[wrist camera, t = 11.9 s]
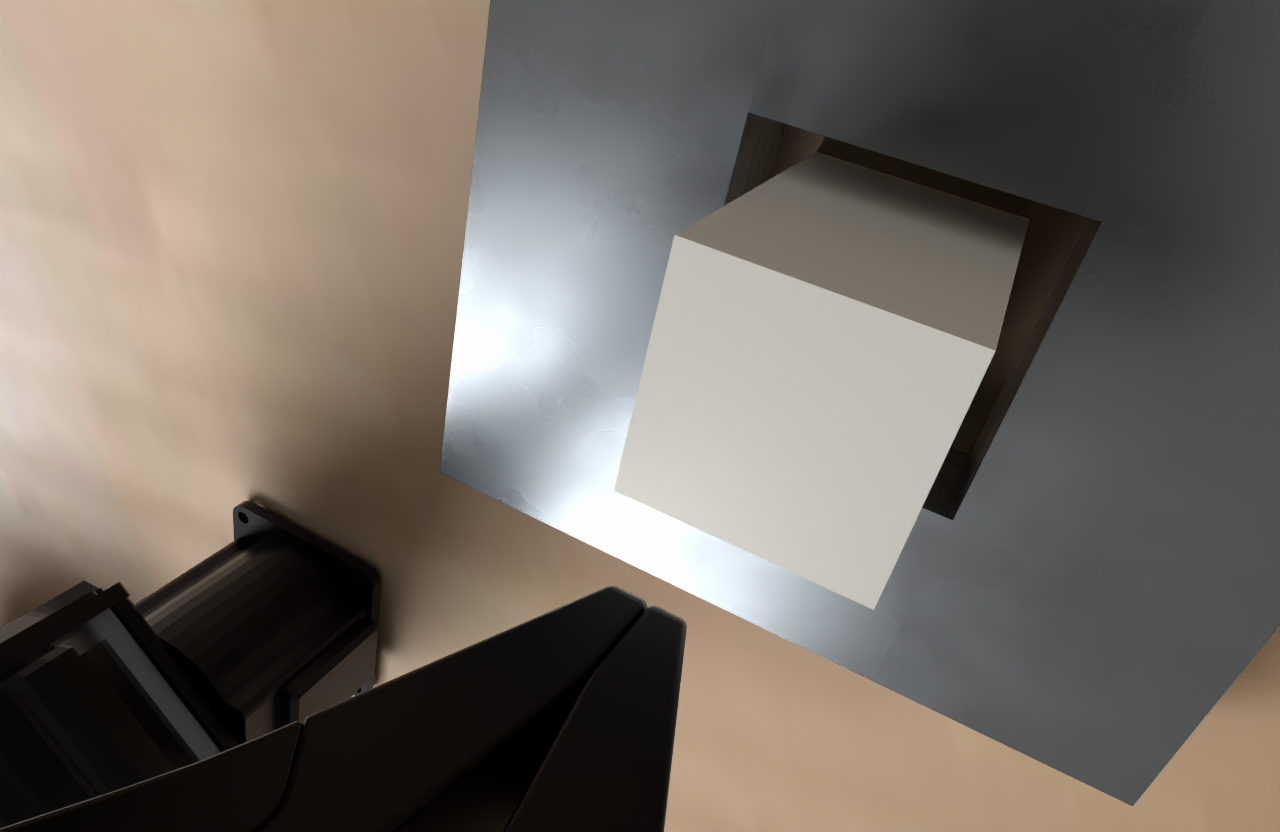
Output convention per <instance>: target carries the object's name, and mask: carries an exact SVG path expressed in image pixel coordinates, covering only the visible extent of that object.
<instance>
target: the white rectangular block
mask: <svg viewBox="0 0 1280 832" xmlns="http://www.w3.org/2000/svg"><path fill="white" fill-rule="evenodd" d="M1028 222H1029V219H1027V218H1024V217H1021V216H1017V215H1014V214H1011V213H1008V212H1005V211H1002V210H998V209H995V208H992V207H989V206H986V205H983V204H980V203H976V202H973V201H970V200H967V199H964V198H961V197H957V196H954V195H951V194H948V193H945V192H942V191H938V190H935V189H932V188H929V187H926V186H923V185H919V184H916V183H913V182H910V181H907V180H904V179H900V178H897V177H894V176H891V175H888V174H885V173H881V172H878V171H875V170H872V169H869V168H866V167H862V166H859V165H856V164H853V163H850V162H847V161H843V160H840V159H837V158H834V157H831V156H828V155H824V154H821V153H818V152H816V153H814V154H812V155H811V156H809V157H807V158H806V159H804V160H802V161H800V162H799V163H797V164H795V165H794V166H792V167H790V168H788V169H787V170H785V171H783V172H781V173H780V174H778V175H776V176H775V177H773V178H771V179H769V180H768V181H766V182H764V183H763V184H761V185H759V186H757V187H756V188H754V189H752V190H751V191H749V192H747V193H745V194H744V195H742V196H740V197H739V198H737V199H735V200H733V201H732V202H730V203H728V204H727V205H725V206H723V207H721V208H720V209H718V210H716V211H715V212H713V213H711V214H709V215H708V216H706V217H704V218H703V219H701V220H699V221H697V222H696V223H694V224H692V225H690V226H689V227H687V228H685V229H684V230H682V231H680V232H678V233H677V234H675V235H674V239H673V243H672V247H671V252H670V256H669V260H668V264H667V269H666V273H665V277H664V281H663V285H662V290H661V294H660V298H659V302H658V307H657V311H656V315H655V319H654V323H653V328H652V332H651V336H650V340H649V345H648V349H647V353H646V357H645V361H644V366H643V370H642V374H641V378H640V383H639V387H638V391H637V395H636V400H635V404H634V408H633V412H632V416H631V421H630V425H629V429H628V433H627V438H626V442H625V446H624V450H623V454H622V459H621V463H620V467H619V471H618V476H617V480H616V484H615V488H614V491H616V492H618V493H620V494H622V495H625V496H627V497H629V498H631V499H633V500H635V501H638V502H640V503H642V504H644V505H646V506H648V507H651V508H653V509H655V510H657V511H659V512H662V513H664V514H666V515H668V516H670V517H672V518H675V519H677V520H679V521H681V522H683V523H686V524H688V525H690V526H692V527H694V528H696V529H699V530H701V531H703V532H705V533H707V534H709V535H712V536H714V537H716V538H718V539H720V540H723V541H725V542H727V543H729V544H731V545H733V546H736V547H738V548H740V549H742V550H744V551H746V552H749V553H751V554H753V555H755V556H757V557H760V558H762V559H764V560H766V561H768V562H770V563H773V564H775V565H777V566H779V567H781V568H783V569H786V570H788V571H790V572H792V573H794V574H797V575H799V576H801V577H803V578H805V579H807V580H810V581H812V582H814V583H816V584H818V585H821V586H823V587H825V588H827V589H829V590H831V591H834V592H836V593H838V594H840V595H842V596H844V597H847V598H849V599H851V600H853V601H855V602H858V603H860V604H862V605H864V606H866V607H868V608H871V609H873V610H874V609H875V606H876V604H877V602H878V600H879V598H880V596H881V594H882V592H883V589H884V587H885V585H886V583H887V581H888V579H889V577H890V575H891V572H892V570H893V568H894V566H895V564H896V562H897V560H898V558H899V555H900V553H901V551H902V549H903V547H904V545H905V543H906V541H907V538H908V536H909V534H910V532H911V530H912V528H913V526H914V524H915V521H916V519H917V517H918V515H919V513H920V511H921V509H922V507H923V504H924V502H925V500H926V498H927V496H928V494H929V492H930V490H931V487H932V485H933V483H934V481H935V479H936V477H937V475H938V473H939V470H940V468H941V466H942V464H943V462H944V460H945V458H946V456H947V453H948V451H949V449H950V447H951V445H952V443H953V441H954V439H955V436H956V434H957V432H958V430H959V428H960V426H961V424H962V421H963V419H964V417H965V415H966V413H967V411H968V409H969V407H970V404H971V402H972V400H973V398H974V396H975V394H976V392H977V390H978V387H979V385H980V383H981V381H982V379H983V377H984V375H985V373H986V370H987V368H988V366H989V364H990V362H991V360H992V358H993V356H994V353H995V351H996V348H997V344H998V340H999V336H1000V332H1001V328H1002V324H1003V320H1004V316H1005V313H1006V309H1007V305H1008V301H1009V297H1010V293H1011V289H1012V285H1013V281H1014V277H1015V273H1016V269H1017V265H1018V261H1019V257H1020V254H1021V250H1022V246H1023V242H1024V238H1025V234H1026V230H1027V226H1028Z"/></svg>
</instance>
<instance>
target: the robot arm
mask: <svg viewBox="0 0 1280 832" xmlns="http://www.w3.org/2000/svg"><path fill="white" fill-rule="evenodd" d="M233 523H234V541H233V542H232V543H230V544H229V545H227V546H226V547H224V548H222V549H221V550H219V551H218V552H216V553H215V554H213V555H212V556H210V557H208V558H207V559H205V560H204V561H202V562H201V563H199V564H197V565H196V566H194V567H193V568H191V569H190V570H188V571H187V572H185V573H183V574H182V575H180V576H179V577H177V578H176V579H174V580H173V581H171V582H169V583H168V584H166V585H165V586H163V587H162V588H160V589H158V590H157V591H155V592H154V593H152V594H151V595H149V596H148V597H146V598H144V599H143V600H141V601H140V602H138V603H137V604H135V605H134V604H133V603H132V602H131V600H130V599H129V598H128V596H130V594H129V593H128V591H127V590H126V589H125V587H124V586H123V585H122V583H121V582H119V583H117V584H115V585H114V586H112V587H110V588H108V589H107V590H105V591H103V590H102V588H100V589H99V588H97V587H95V586H93V585H91V584H89V583H87V582H85V581H83V582H81V583H79V584H78V585H76V586H74V587H72V588H71V589H69V590H67V591H66V592H64V593H62V594H60V595H59V596H57V597H55V598H54V599H52V600H50V601H48V602H47V603H45V604H43V605H41V606H40V607H38V608H36V609H34V610H32V611H31V612H29V613H27V614H25V615H23V616H21V617H19V618H17V619H15V620H13V621H11V622H9V623H7V624H5V625H3V626H1V627H0V832H664V826H665V817H666V808H667V799H668V790H669V781H670V772H671V763H672V754H673V745H674V736H675V727H676V718H677V709H678V700H679V691H680V682H681V673H682V664H683V655H684V646H685V637H686V622H685V621H684V620H683V619H682V618H680V617H678V616H676V615H674V614H672V613H670V612H668V611H666V610H664V609H662V608H660V607H657V606H650V607H648V608H647V604H646V602H645V601H644V600H643V599H641V598H639V597H637V596H635V595H633V594H631V593H629V592H627V591H625V590H623V589H621V588H619V587H616V586H609V587H606V588H604V589H601V590H599V591H597V592H594V593H592V594H590V595H587V596H585V597H583V598H580V599H578V600H576V601H573V602H571V603H569V604H567V605H564V606H562V607H560V608H557V609H555V610H553V611H550V612H548V613H546V614H543V615H541V616H539V617H536V618H534V619H532V620H529V621H527V622H525V623H523V624H520V625H518V626H516V627H513V628H511V629H509V630H506V631H504V632H502V633H499V634H497V635H495V636H492V637H490V638H488V639H485V640H483V641H481V642H479V643H476V644H474V645H472V646H469V647H467V648H465V649H462V650H460V651H458V652H455V653H453V654H451V655H448V656H446V657H444V658H441V659H439V660H437V661H435V662H432V663H430V664H428V665H425V666H423V667H421V668H418V669H416V670H414V671H411V672H409V673H407V674H404V675H402V676H400V677H397V678H395V679H393V680H391V681H388V682H386V683H384V684H381V685H379V686H377V687H374V688H373V684H374V674H375V663H376V649H377V635H378V628H377V627H378V613H379V598H380V584H381V580H380V576H379V574H378V572H377V571H376V570H375V568H373V567H372V566H371V565H369V564H367V563H365V562H363V561H361V560H360V559H358V558H356V557H354V556H352V555H350V554H348V553H346V552H345V551H343V550H341V549H339V548H337V547H335V546H333V545H331V544H329V543H328V542H326V541H324V540H322V539H320V538H318V537H316V536H314V535H312V534H311V533H309V532H307V531H305V530H303V529H301V528H299V527H297V526H296V525H294V524H292V523H290V522H288V521H286V520H284V519H282V518H280V517H279V516H277V515H275V514H273V513H271V512H269V511H267V510H265V509H264V508H262V507H260V506H258V505H256V504H254V503H252V502H250V501H244V502H242V503H241V504H239V505H237V506H236V507H235V508H234V510H233ZM58 644H60V646H59V647H57V648H55V646H57V645H58ZM353 695H355V696H354V697H352V696H353Z"/></svg>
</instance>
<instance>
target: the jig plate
mask: <svg viewBox="0 0 1280 832" xmlns="http://www.w3.org/2000/svg"><path fill="white" fill-rule="evenodd" d="M785 124H788V125H791V126H794V127H797V128H801V129H804V130H807V131H810V132H813V133H817V134H820V135H823V136H826V137H830V138H833V139H836V140H839V141H842V142H846V143H849V144H852V145H855V146H859V147H862V148H865V149H868V150H871V151H875V152H878V153H881V154H884V155H888V156H891V157H894V158H897V159H900V160H904V161H907V162H910V163H913V164H917V165H920V166H923V167H926V168H929V169H933V170H936V171H939V172H942V173H946V174H949V175H952V176H955V177H958V178H962V179H965V180H968V181H971V182H975V183H978V184H981V185H984V186H987V187H991V188H994V189H997V190H1000V191H1004V192H1007V193H1010V194H1013V195H1017V196H1020V197H1023V198H1026V199H1029V200H1033V201H1036V202H1039V203H1042V204H1046V205H1049V206H1052V207H1055V208H1058V209H1062V210H1065V211H1068V212H1071V213H1075V214H1078V215H1081V216H1084V217H1086V218H1085V220H1084V222H1083V224H1082V226H1081V228H1080V230H1079V232H1078V234H1077V236H1076V238H1075V240H1074V242H1073V244H1072V246H1071V248H1070V250H1069V253H1068V255H1067V257H1066V259H1065V261H1064V263H1063V265H1062V267H1061V269H1060V271H1059V273H1058V275H1057V277H1056V279H1055V281H1054V283H1053V285H1052V287H1051V289H1050V292H1049V294H1048V296H1047V298H1046V300H1045V302H1044V304H1043V306H1042V308H1041V310H1040V312H1039V314H1038V316H1037V318H1036V320H1035V322H1034V324H1033V326H1032V328H1031V330H1030V333H1029V335H1028V337H1027V339H1026V341H1025V343H1024V345H1023V347H1022V349H1021V351H1020V353H1019V355H1018V357H1017V359H1016V361H1015V363H1014V365H1013V367H1012V369H1011V372H1010V374H1009V376H1008V378H1007V380H1006V382H1005V384H1004V386H1003V388H1002V390H1001V392H1000V394H999V396H998V398H997V400H996V402H995V404H994V406H993V408H992V411H991V413H990V415H989V417H988V419H987V421H986V423H985V425H984V427H983V429H982V431H981V433H980V435H979V437H978V439H977V441H976V443H975V445H974V447H973V450H972V452H971V454H970V456H966V455H964V454H961V453H959V452H956V451H953V450H951V449H949V451H948V453H947V456H946V458H945V460H944V462H943V464H942V466H941V468H940V470H939V473H938V475H937V477H936V479H935V481H934V483H933V485H932V487H931V490H930V492H929V494H928V496H927V498H926V500H925V502H924V504H923V507H922V509H921V511H920V513H919V515H918V517H917V519H916V521H915V524H914V526H913V528H912V530H911V532H910V534H909V536H908V538H907V541H906V543H905V545H904V547H903V549H902V551H901V553H900V555H899V558H898V560H897V562H896V564H895V566H894V568H893V570H892V572H891V575H890V577H889V579H888V581H887V583H886V585H885V587H884V589H883V592H882V594H881V596H880V598H879V600H878V602H877V604H876V606H875V609H874V610H873V609H871V608H868V607H866V606H864V605H862V604H860V603H858V602H855V601H853V600H851V599H849V598H847V597H844V596H842V595H840V594H838V593H836V592H834V591H831V590H829V589H827V588H825V587H823V586H821V585H818V584H816V583H814V582H812V581H810V580H807V579H805V578H803V577H801V576H799V575H797V574H794V573H792V572H790V571H788V570H786V569H783V568H781V567H779V566H777V565H775V564H773V563H770V562H768V561H766V560H764V559H762V558H760V557H757V556H755V555H753V554H751V553H749V552H746V551H744V550H742V549H740V548H738V547H736V546H733V545H731V544H729V543H727V542H725V541H723V540H720V539H718V538H716V537H714V536H712V535H709V534H707V533H705V532H703V531H701V530H699V529H696V528H694V527H692V526H690V525H688V524H686V523H683V522H681V521H679V520H677V519H675V518H672V517H670V516H668V515H666V514H664V513H662V512H659V511H657V510H655V509H653V508H651V507H648V506H646V505H644V504H642V503H640V502H638V501H635V500H633V499H631V498H629V497H627V496H625V495H622V494H620V493H618V492H616V491H614V488H615V484H616V480H617V476H618V471H619V467H620V463H621V459H622V454H623V450H624V446H625V442H626V438H627V433H628V429H629V425H630V421H631V416H632V412H633V408H634V404H635V400H636V395H637V391H638V387H639V383H640V378H641V374H642V370H643V366H644V361H645V357H646V353H647V349H648V345H649V340H650V336H651V332H652V328H653V323H654V319H655V315H656V311H657V307H658V302H659V298H660V294H661V290H662V285H663V281H664V277H665V273H666V269H667V264H668V260H669V256H670V252H671V247H672V243H673V239H674V235H675V234H677V233H678V232H680V231H682V230H684V229H685V228H687V227H689V226H690V225H692V224H694V223H696V222H697V221H699V220H701V219H703V218H704V217H706V216H708V215H709V214H711V213H713V212H715V211H716V210H718V209H720V208H721V207H723V206H725V205H727V204H728V203H730V202H732V201H733V200H735V199H737V198H739V197H740V196H742V195H744V194H745V193H747V192H749V191H751V190H752V189H754V188H756V187H757V186H759V185H761V184H763V183H764V182H766V181H768V180H769V177H770V174H771V170H772V167H773V163H774V160H775V156H776V153H777V149H778V146H779V142H780V139H781V135H782V132H783V128H784V125H785ZM440 473H442V474H444V475H446V476H448V477H450V478H453V479H455V480H457V481H459V482H461V483H463V484H465V485H467V486H469V487H471V488H473V489H475V490H477V491H480V492H482V493H484V494H486V495H488V496H490V497H492V498H494V499H496V500H498V501H500V502H502V503H504V504H506V505H509V506H511V507H513V508H515V509H517V510H519V511H521V512H523V513H525V514H527V515H529V516H531V517H533V518H536V519H538V520H540V521H542V522H544V523H546V524H548V525H550V526H552V527H554V528H556V529H558V530H560V531H563V532H565V533H567V534H569V535H571V536H573V537H575V538H577V539H579V540H581V541H583V542H585V543H587V544H589V545H592V546H594V547H596V548H598V549H600V550H602V551H604V552H606V553H608V554H610V555H612V556H614V557H616V558H619V559H621V560H623V561H625V562H627V563H629V564H631V565H633V566H635V567H637V568H639V569H641V570H643V571H646V572H648V573H650V574H652V575H654V576H656V577H658V578H660V579H662V580H664V581H666V582H668V583H670V584H672V585H675V586H677V587H679V588H681V589H683V590H685V591H687V592H689V593H691V594H693V595H695V596H697V597H699V598H702V599H704V600H706V601H708V602H710V603H712V604H714V605H716V606H718V607H720V608H722V609H724V610H726V611H728V612H731V613H733V614H735V615H737V616H739V617H741V618H743V619H745V620H747V621H749V622H751V623H753V624H755V625H758V626H760V627H762V628H764V629H766V630H768V631H770V632H772V633H774V634H776V635H778V636H780V637H782V638H785V639H787V640H789V641H791V642H793V643H795V644H797V645H799V646H801V647H803V648H805V649H807V650H809V651H811V652H814V653H816V654H818V655H820V656H822V657H824V658H826V659H828V660H830V661H832V662H834V663H836V664H838V665H841V666H843V667H845V668H847V669H849V670H851V671H853V672H855V673H857V674H859V675H861V676H863V677H865V678H868V679H870V680H872V681H874V682H876V683H878V684H880V685H882V686H884V687H886V688H888V689H890V690H892V691H894V692H897V693H899V694H901V695H903V696H905V697H907V698H909V699H911V700H913V701H915V702H917V703H919V704H921V705H924V706H926V707H928V708H930V709H932V710H934V711H936V712H938V713H940V714H942V715H944V716H946V717H948V718H951V719H953V720H955V721H957V722H959V723H961V724H963V725H965V726H967V727H969V728H971V729H973V730H975V731H977V732H980V733H982V734H984V735H986V736H988V737H990V738H992V739H994V740H996V741H998V742H1000V743H1002V744H1004V745H1007V746H1009V747H1011V748H1013V749H1015V750H1017V751H1019V752H1021V753H1023V754H1025V755H1027V756H1029V757H1031V758H1034V759H1036V760H1038V761H1040V762H1042V763H1044V764H1046V765H1048V766H1050V767H1052V768H1054V769H1056V770H1058V771H1060V772H1063V773H1065V774H1067V775H1069V776H1071V777H1073V778H1075V779H1077V780H1079V781H1081V782H1083V783H1085V784H1087V785H1090V786H1092V787H1094V788H1096V789H1098V790H1100V791H1102V792H1104V793H1106V794H1108V795H1110V796H1112V797H1114V798H1117V799H1119V800H1121V801H1123V802H1125V803H1127V804H1129V805H1131V806H1133V805H1134V804H1135V803H1136V801H1137V800H1138V799H1139V798H1140V797H1141V795H1142V794H1143V793H1144V792H1145V790H1146V789H1147V788H1148V787H1149V785H1150V784H1151V783H1152V782H1153V780H1154V779H1155V778H1156V777H1157V776H1158V774H1159V773H1160V772H1161V771H1162V769H1163V768H1164V767H1165V766H1166V764H1167V763H1168V762H1169V761H1170V759H1171V758H1172V757H1173V756H1174V754H1175V753H1176V752H1177V751H1178V750H1179V748H1180V747H1181V746H1182V745H1183V743H1184V742H1185V741H1186V740H1187V738H1188V737H1189V736H1190V735H1191V733H1192V732H1193V731H1194V730H1195V729H1196V727H1197V726H1198V725H1199V724H1200V722H1201V721H1202V720H1203V719H1204V717H1205V716H1206V715H1207V714H1208V712H1209V711H1210V710H1211V709H1212V708H1213V706H1214V705H1215V704H1216V703H1217V701H1218V700H1219V699H1220V698H1221V696H1222V695H1223V694H1224V693H1225V691H1226V690H1227V689H1228V688H1229V686H1230V685H1231V684H1232V683H1233V682H1234V680H1235V679H1236V678H1237V677H1238V675H1239V674H1240V673H1241V672H1242V670H1243V669H1244V668H1245V667H1246V665H1247V664H1248V663H1249V662H1250V661H1251V659H1252V658H1253V657H1254V656H1255V654H1256V653H1257V652H1258V651H1259V649H1260V648H1261V647H1262V646H1263V644H1264V643H1265V642H1266V641H1267V639H1268V638H1269V637H1270V636H1271V635H1272V633H1273V632H1274V631H1275V630H1276V628H1277V627H1278V626H1279V625H1280V0H490V9H489V19H488V28H487V37H486V46H485V56H484V65H483V74H482V84H481V93H480V102H479V112H478V121H477V130H476V139H475V149H474V158H473V167H472V177H471V186H470V195H469V204H468V214H467V223H466V232H465V242H464V251H463V260H462V270H461V279H460V288H459V297H458V307H457V316H456V325H455V335H454V344H453V353H452V363H451V372H450V381H449V390H448V400H447V409H446V418H445V428H444V437H443V446H442V456H441V465H440Z"/></svg>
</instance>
